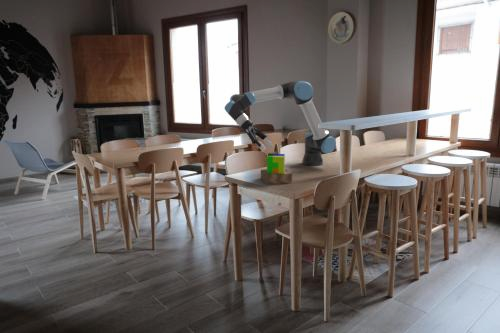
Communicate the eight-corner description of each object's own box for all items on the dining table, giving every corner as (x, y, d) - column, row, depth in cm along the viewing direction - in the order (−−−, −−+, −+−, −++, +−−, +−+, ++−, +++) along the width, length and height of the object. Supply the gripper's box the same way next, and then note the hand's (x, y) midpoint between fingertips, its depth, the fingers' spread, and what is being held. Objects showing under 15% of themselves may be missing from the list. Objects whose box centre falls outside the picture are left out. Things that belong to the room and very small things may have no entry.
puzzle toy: (284, 170, 243) (284, 154, 241) (283, 173, 233) (284, 157, 231) (268, 169, 244) (268, 153, 242) (267, 173, 234) (267, 156, 232)
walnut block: (283, 177, 249) (283, 168, 248) (291, 183, 235) (291, 173, 233) (260, 179, 245) (260, 169, 244) (267, 184, 231) (267, 175, 230)
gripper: (247, 124, 252) (270, 149, 250) (232, 129, 229) (257, 155, 227) (255, 116, 249) (278, 141, 247) (241, 120, 226) (266, 147, 224)
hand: (268, 148), depth 237 cm, fingers open, 13 cm apart
